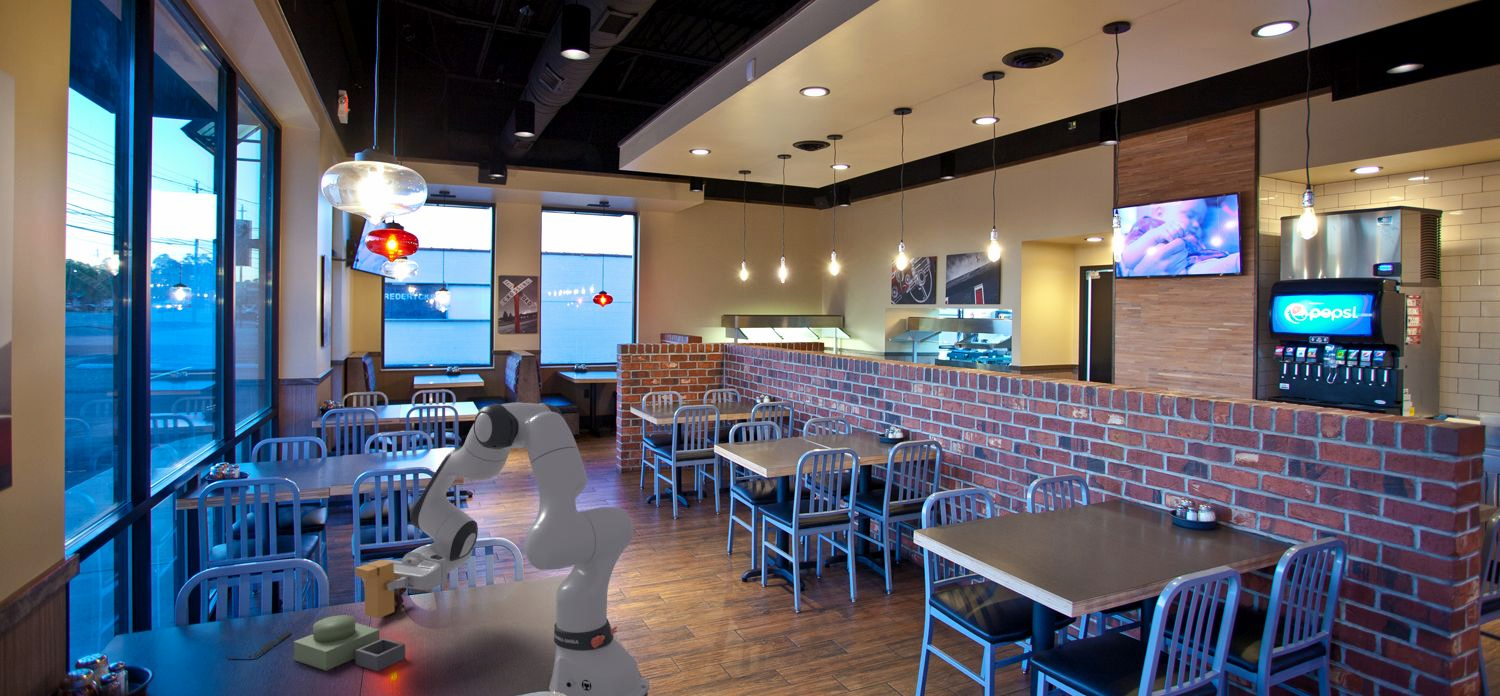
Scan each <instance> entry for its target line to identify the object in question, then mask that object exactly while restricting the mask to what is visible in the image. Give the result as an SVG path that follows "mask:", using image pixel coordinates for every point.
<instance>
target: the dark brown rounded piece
mask: <svg viewBox="0 0 1500 696" xmlns="http://www.w3.org/2000/svg"><path fill="white" fill-rule="evenodd" d="M407 589H408V588H397V589H396V590H394V608H395V612H393V613H390V614H388V615H387V616H394V614H395V613H396V612H398V611H399V610H400V608H401V606H402V604H403V603H404V598H403V596H402V595H404V594H405V593H406V591H407Z"/></svg>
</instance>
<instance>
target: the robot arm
mask: <svg viewBox="0 0 1500 696" xmlns="http://www.w3.org/2000/svg"><path fill="white" fill-rule="evenodd" d="M574 437H575V436H574V435H573V433H572V431H571V429H570V427H569V425H568V424H567V421H566V420H565V418H564V415H563V413H562V411H561V410H560V408H559V407H557V406H556V405H553V404H550V403H543V402H540V403H533V402H521V401H520V402H519V401H518V402H507V403H502V404H500V403H494V404H490V405H487V406H483V407H482V408H480V409H479V411H478V412H477V414H476V416H475V418H474V422H473V424H472V425H471V428H470V430H469V432H468V434H467V436H466V439H465V441H464V444H463V446H461V448H459V447H458V448H454V449H452V451H449V453H448V454H447V455H446V456H445V457H444V458H443V460H442V461H441V463H440V464H439V466H438V468H437V469H436V470H435V472H434V474H433V475H432V477H431V479H430V481H429V482H428V484H427V485H426V487H425V489H424V490H423V491H422V493H421V495H419V497H418V498H417V500H415V502H414V503H413V505H412V506H411V509H410V514H409V516H410V519H409V520H410V524H411V525H412V526H413V527H414V528H417V529H418V530H420V531H421V532H423V533H424V534H426V535H428V537H430V538H431V539H432V540H434V541H433V543H431V544H430V545H425V546H422V547H419V548H417V549H414V550H412V551H409V552H408V553H407V552H406V554H404V556H403V558H402V559H401V560H394V559H384V560H385V561H390V562H394V581H388V582H386V583H385V584H384V586H385V588H384V589H385V590H389V591H391V590H393V589H394V590H397V589H398V588H407V589H411V590H418V591H428V590H431V589H435V588H437V587H439V586H443V585H446V584H447V583H448V574H449V573H451V572H453V571H455V570H457V569H458V568H460V567H461V566H463V565H464V564H465V563H466V562H468V561H469V560H470V559H471V556H472V554H473V550H474V549H473V548H474V547H475V545H476V542H477V539H478V535H479V534H478V533H479V526H478V523H477V521H476V520H474V518H472V517H471V516H469V515H468V514H467V513H466V512H464V511H463V510H461V509H460V508H459V507H457V506H456V505H455V504H453V503H452V502H450V500H449V499H448V497H447V493H448V490H449V489H450V488H451V486H452V484H453V483H454V481H455V480H456V479H457V478H463V479H466V480H468V481H469V480H470V481H486V480H490V479H491V478H493V477H495V476H497V475H498V474H500V472H502V470H503V469H504V466H505V464H506V463H507V460H508V458H509V455H510V452H511V449H514V450H515V449H520V450H521V449H522V450H525V449H526V452H527V455H528V459H529V462H530V465H531V469H532V472H533V476H534V479H535V484H536V487H537V490H538V495H539V497H538V498H539V507H538V513H537V516H536V519H535V521H534V522H533V524H532V526H531V527H530V528H529V530H528V532H526V535H525V539H524V552H525V555H526V558H527V560H528V562H529V563H530V564H531V565H532V566H533V567H534V568H535V569H537V570H539V571H540V570H541V571H546V570H547V571H549V570H561V569H565V568H568V567H572V566H573V568H572V569H571V571H570V573H569V574H568V575H567V576H566V577H565V578H564V579H563V580H562V581H561V583H560V584H559V586H558V587H557V589H556V593H555V602H556V603H555V620H556V621H555V623H554V627H553V628H554V631H553V640H554V643H555V650H554V651H555V652H554V653H555V654H554V662H553V663H554V664H553V670H552V674H551V675H552V676H551V679H550V682H549V686H548V690H549V692H550V691H555V692H560V693H564V694H566V695H567V696H645V695H646V694H647V693H648V691H649V690H650V681H649V680H648V679H646V678H643V677H641V676H640V673H639V665H638V664H637V661H636V659H635V658H634V656H632V655H631V654H630V653H629V651H627V650H626V649H625V648H623V646H622V645H621V644H620V643H619V642H618V641H617V640H616V639H615V637H614V636H615V635H614V634H616V632H618V630H617V628H618V626H615V627H613V628H612V626H611V624H610V621H609V619H608V617H607V616H608V591H609V584H610V581H611V577H612V574H613V571H614V569H615V566H616V565H617V561H618V560H619V558H620V557H621V555H622V554H623V552H624V551H625V549H627V547H628V546H629V545H630V544H631V542H632V539H633V536H634V523H633V520H632V518H631V516H630V515H629V513H628V512H627V511H626V510H625V509H624V508H622V507H617V506H616V507H614V506H613V507H612V506H600V507H596V508H591V509H587V510H583V511H579V510H578V509H577V504H576V499H577V498H578V497H579V495H581V494H582V493H583V492H584V490H585V489H586V486H587V484H588V474H587V471H586V468H585V466H584V462H583V459H582V456H581V454H580V450H579V448H578V445H577V442H576V439H575V438H574ZM361 581H363V582H364V578H361ZM363 587H364V588H365V584H364V583H363ZM640 677H641V678H640ZM643 681H644V682H645V683H644V682H643ZM645 685H646V686H645Z"/></svg>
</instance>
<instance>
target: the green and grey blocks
mask: <svg viewBox="0 0 1500 696" xmlns="http://www.w3.org/2000/svg"><path fill="white" fill-rule="evenodd" d="M312 632H313V634H310V635H309V634H308V635H307V636H305V637H302V638H299V639H296V640H294V641H293V660H294V661H296V662H299V663H302V664H306V665H307V666H311V667H314V668H317V669H320V670H323V671H326V672H327V671H329V670H332V669H334V668H336V667H338V666H341V665H343V664H345V663H348V662H349V661H352V660H355V665H357V666H359V667H362V668H366V669H368V670H371V671H374V672H380V671H381V670H383V669H386V668H388V667H390V666H392V665H394V664H396V663H399V662H401V661H404V660H405V659H406V644H405V643H403V642H400V641H395V640H393V639H389V638H385V637H383V638H381V639H380V629H379V628H374V627H371V626H368V625H364V624H362V623H358V622H356V618H355V616H352V615H347V614H343V615H341V614H340V615H333V616H332V615H331V616H328V617H324V618H322V619H320V620H317V621H316V622H314V624H313V625H312Z"/></svg>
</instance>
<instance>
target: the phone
mask: <svg viewBox="0 0 1500 696" xmlns="http://www.w3.org/2000/svg"><path fill="white" fill-rule="evenodd" d="M285 632H286V633H287V634H286V633H285V634H283V635H281V636H280V637H278V638H279V639H277V640H278V641H277V640H276V641H277V642H275V641H272V642H269V643H268V644H266V645H264V646H263V647H265V646H266V647H265V648H263V647H262V648H263V649H261V648H260V649H261V650H260V651H261V652H260V653H257V652H255V653H257V654H258V655H257V654H254V657H257V656H259V655H260V654H262V653H264V652H265V651H267V650H268V649H270V648H271V647H272V646H274V645H275V644H276V643H278V642H280V641H282V640H283V639H284V638H286V637H287V636H289V635H290V634H291V635H292V631H285ZM291 635H290V636H291ZM290 636H289V637H290ZM287 638H288V637H287ZM287 638H286V639H287ZM283 641H284V640H283ZM283 641H282V642H283ZM273 642H274V643H273ZM271 643H272V644H271ZM280 643H281V642H280ZM258 652H259V651H258ZM250 654H251V653H250ZM245 656H247V655H245ZM228 657H229V655H227V658H228ZM230 657H233V656H230ZM235 657H236V656H235ZM239 657H240V656H239ZM251 657H253V656H250V655H249V658H251Z"/></svg>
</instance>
